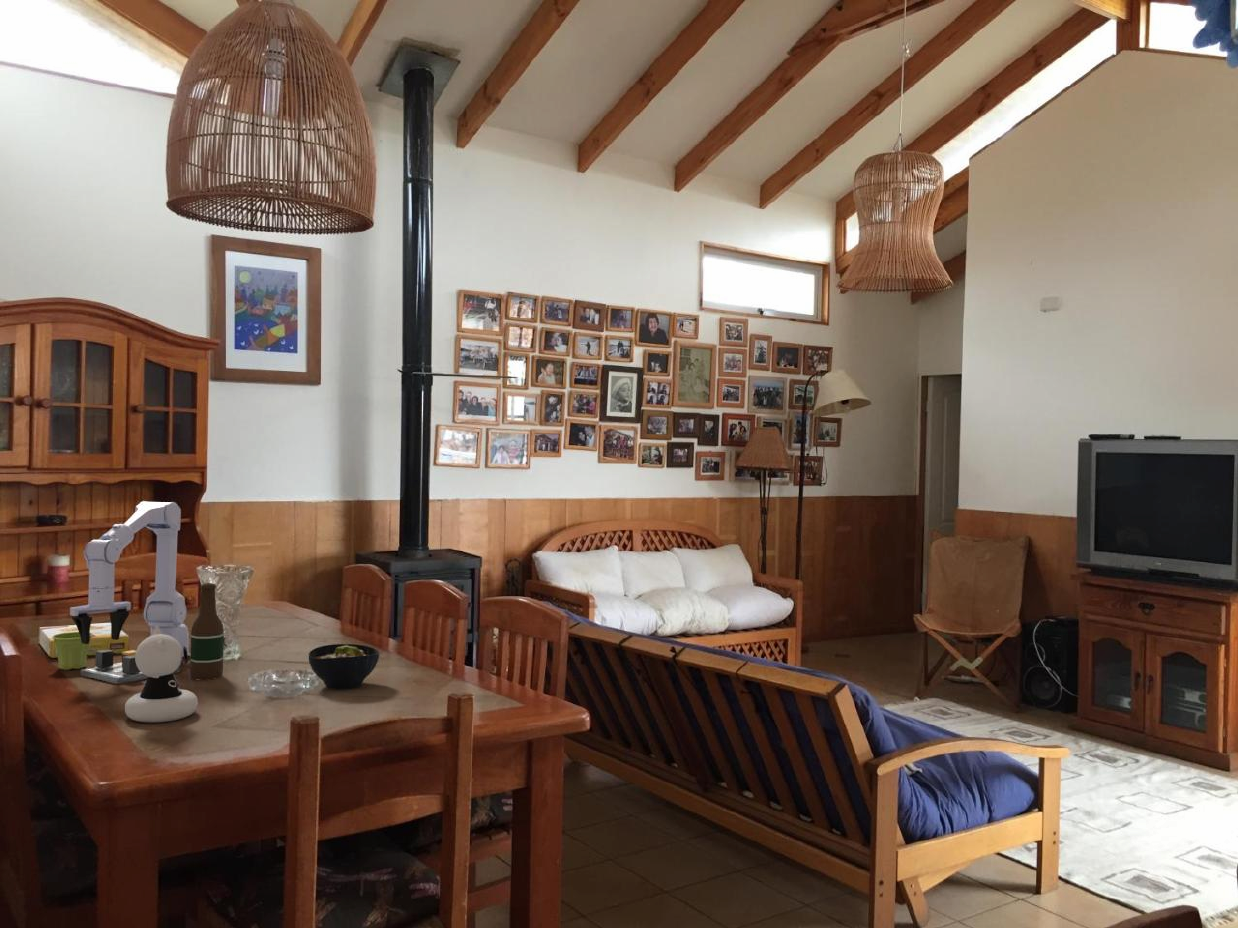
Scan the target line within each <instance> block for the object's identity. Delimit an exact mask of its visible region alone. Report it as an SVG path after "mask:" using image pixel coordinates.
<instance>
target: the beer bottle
mask: <svg viewBox="0 0 1238 928" xmlns="http://www.w3.org/2000/svg"><path fill="white" fill-rule="evenodd" d="M199 588H200V589H201V591H200V592H201V593H200V604H199V605H200V607H199V613H198V615H197V618H195V620H194V621H193V623H192V626H191V630H190V631H191V632H190V666H189V667H190V679H193V678H194V679H193V680H196V679H202V680H201V681H208V680H207V679H210V680H215V679H214V678H217V679H219V678H221V677H222V676H223V674H224V673H223V672H224V643H225V641H224V637H225V635H224V634H225V632H224V625H223V622H222V620H221V619H220V617H219V616H218V615H217V613H218V612H217V607H216V605H217V604H216V588H217V585H216V583H212V582H211V583H209V582H205V583H202V584H201V585H200V587H199Z"/></svg>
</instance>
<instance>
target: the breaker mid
mask: <svg viewBox="0 0 1238 928" xmlns="http://www.w3.org/2000/svg"><path fill="white" fill-rule="evenodd" d="M135 654H136V650H134V649H130V651H125V652H122V653H121V662H122V668H123V657H126V656H132V655H135Z"/></svg>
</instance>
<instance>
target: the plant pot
mask: <svg viewBox="0 0 1238 928" xmlns="http://www.w3.org/2000/svg"><path fill="white" fill-rule="evenodd" d="M91 636H93V633H90V639H89V642H90V640H91ZM52 638H53V639H54V642H55V644H56V649H57V655H58V657H57V660H58V661H57V663H58V668H59V669H60V670H66V671H69V670H71V669H76V670H79V669H80V670H81V669H83V668H85V667H86V666H87V659H88V656H87V654H88V648H89V644H83V643H82V642H81V637H80V634H79V632H69V633H62V634H57V635H54V636H52Z"/></svg>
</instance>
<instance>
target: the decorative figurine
mask: <svg viewBox="0 0 1238 928" xmlns="http://www.w3.org/2000/svg"><path fill="white" fill-rule="evenodd" d="M183 647H184V648H183V654H184V661H185V664H187V662H188V656H187V649H185V648H186V647H185V646H183ZM135 651H136V654H135V662H136V665H137V667H138V669H139V670H140V671H141V672H142V673H143V674H144V675H146V676H149V677H148V679H147V680H146V682H145V684H144V685H143V688H142V690H141V692H139V693H135V694H132V696H131V697H129V698H128V699H127V701H126V702H125V704H124V712H125V714H126V716H127V717H128V718H129V719H130V720H132V721H135V722H138V723H139V722H140V723H148V724H149V723H166V722H173V721H178V720H182V719H185V718H187V717H189V716H191V715H192V714H194V712H196V710H197V708H198V705H199V699H198V697H197V695H196V694H195V693H194V692H193V691H190V690H187V689H181V688H180V686H179V682H178V681H177V679H176V676H175V675H174V674H175V673H174V674H173V672H174V671H175V670H176V669H177V668H178V667H179V668H180V667H181V668H183V665H184V663H183V657H182V655H183V654H182V648H181V646H180V644H179V643H178V641H177V640H176V639H174V638H173V637H171V636H168V635H164V634H161V631H160V629H159V627H158V624H157V623H156V626H155V630H154V633H153V636H151V635H149V636H148V637H146V638H145V639H143V640H142V641H141V643H140V644H139V645H138V646H137V649H136V650H135Z"/></svg>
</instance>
